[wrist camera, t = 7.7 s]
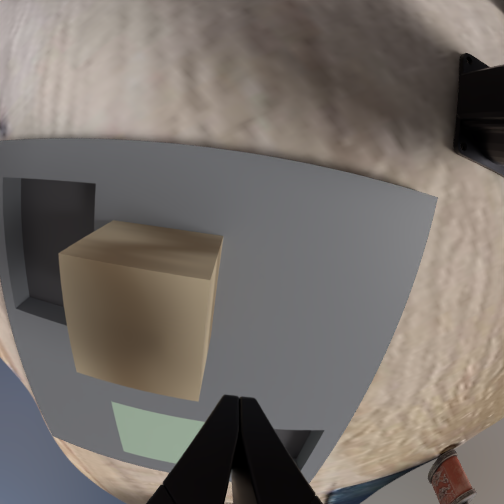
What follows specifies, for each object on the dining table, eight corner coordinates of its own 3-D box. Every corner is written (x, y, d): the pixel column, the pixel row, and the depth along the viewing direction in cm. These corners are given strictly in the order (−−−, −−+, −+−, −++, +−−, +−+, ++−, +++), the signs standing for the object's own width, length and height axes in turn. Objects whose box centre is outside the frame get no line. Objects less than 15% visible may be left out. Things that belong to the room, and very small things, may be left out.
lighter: (445, 472, 25) (467, 523, 16) (424, 482, 26) (444, 535, 16) (459, 445, 23) (489, 503, 13) (435, 456, 23) (463, 519, 14)
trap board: (417, 191, 14) (437, 197, 12) (306, 466, 22) (308, 483, 20) (16, 139, 13) (-6, 141, 11) (60, 421, 20) (52, 435, 18)
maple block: (223, 235, 13) (210, 280, 8) (211, 334, 14) (198, 401, 10) (113, 220, 12) (58, 253, 8) (115, 316, 14) (76, 372, 10)
